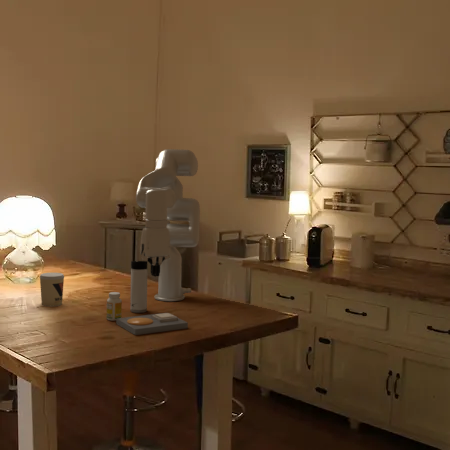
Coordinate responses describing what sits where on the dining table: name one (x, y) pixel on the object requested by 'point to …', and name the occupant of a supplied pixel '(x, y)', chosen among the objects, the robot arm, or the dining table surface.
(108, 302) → the supplement bottle
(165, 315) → the button
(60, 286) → the coffee cup
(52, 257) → the dining table surface
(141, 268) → the travel mug
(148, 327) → the grey flat rectangular block
